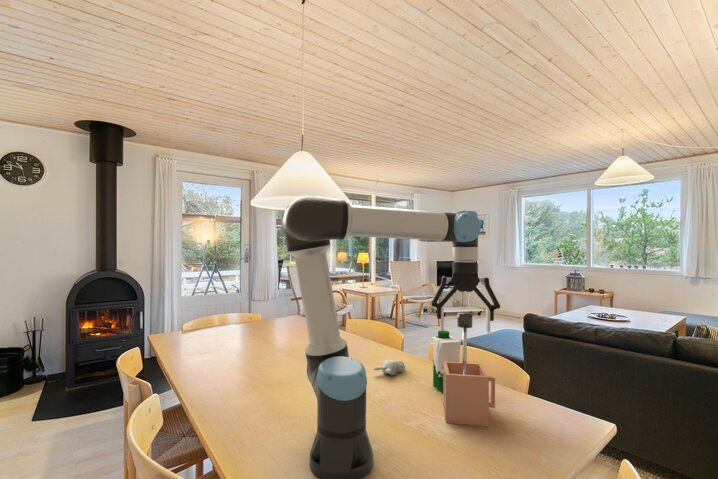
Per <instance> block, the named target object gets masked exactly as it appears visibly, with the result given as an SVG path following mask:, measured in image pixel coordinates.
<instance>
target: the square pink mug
mask: <svg viewBox="0 0 718 479" xmlns="http://www.w3.org/2000/svg"><path fill="white" fill-rule="evenodd" d="M489 394H490V395H489ZM442 404H443V405H442V406H443V412H444V413H443V414H444V418H445V420H444V421H445V423H447V424H448V423H449V424H456V425H457V424H460V425H471V426H480V425H482V426H483V427H489V425H490V424H489V423H490V420H489V419H490V418H489V417H490V416H489V413H490V412H489V411H490V409H489V408H491V409H496V377H495V376H489V375H488V373H487V371H486V369H485V367H484V366H483V363H481V362H480V363H479V362H477V363H476V362H467V375H463V361H462V362H461V361H459V362H448V361H443V393H442Z"/></svg>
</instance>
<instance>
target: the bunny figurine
mask: <svg viewBox="0 0 718 479" xmlns="http://www.w3.org/2000/svg"><path fill="white" fill-rule="evenodd" d="M380 370H382V371H381V372H382V373H384V374H385V375H387V374H388V375H390V376H391V377H392V376H395V375H397V373H402V372H405V371H406V365H405V363H404V362H403V361H402V360H396V359H391V360H390V359H385V360H383V363H382V366H374V368H373V371H380Z"/></svg>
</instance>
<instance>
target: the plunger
mask: <svg viewBox="0 0 718 479" xmlns="http://www.w3.org/2000/svg"><path fill="white" fill-rule="evenodd" d="M456 318H457V324H456V325H457V327H458V328H461V329H462V362H463V375H467V363H468V362H467V361H468V360H467V359H468V358H467V357H468V355H467V354H468V353H467V352H468V348H467V347H468V346H467V345H468V329H471V328H473V313H472V312H468V311H458V312H457V317H456Z"/></svg>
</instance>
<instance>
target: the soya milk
mask: <svg viewBox="0 0 718 479" xmlns="http://www.w3.org/2000/svg"><path fill="white" fill-rule="evenodd" d="M431 339H432V348H433V350H432V351H433V354H432V355H433V356H432V357H433V362H432V364H433V366H432V368H433V369H432V372H433V374H432V375H433V376H432V378H433V379H432V386H433V387H434V388H435V389H437V390H438V391H439V392H440V393H441V394H443V361H448V362H460V352H461V351H460V350H461V346H462V340H460V339H458V338H456V337H454V336H453V335H450V332H449V331H448V330H438V331H437V336H432V337H431Z"/></svg>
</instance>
